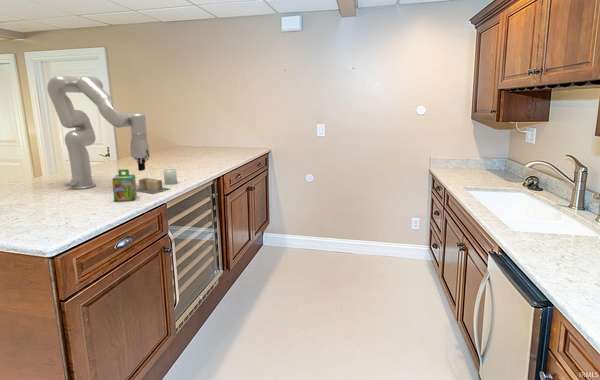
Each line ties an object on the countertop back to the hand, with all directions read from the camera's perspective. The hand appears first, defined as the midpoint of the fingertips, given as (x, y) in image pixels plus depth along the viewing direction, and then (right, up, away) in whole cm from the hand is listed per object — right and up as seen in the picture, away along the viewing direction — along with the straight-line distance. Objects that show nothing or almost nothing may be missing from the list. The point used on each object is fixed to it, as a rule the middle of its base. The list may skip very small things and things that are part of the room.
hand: (141, 170), depth 205 cm
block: (0, -7, +2) cm, 8 cm away
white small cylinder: (+11, -7, +15) cm, 20 cm away
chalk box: (0, -16, -19) cm, 25 cm away
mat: (+6, -11, -2) cm, 13 cm away
